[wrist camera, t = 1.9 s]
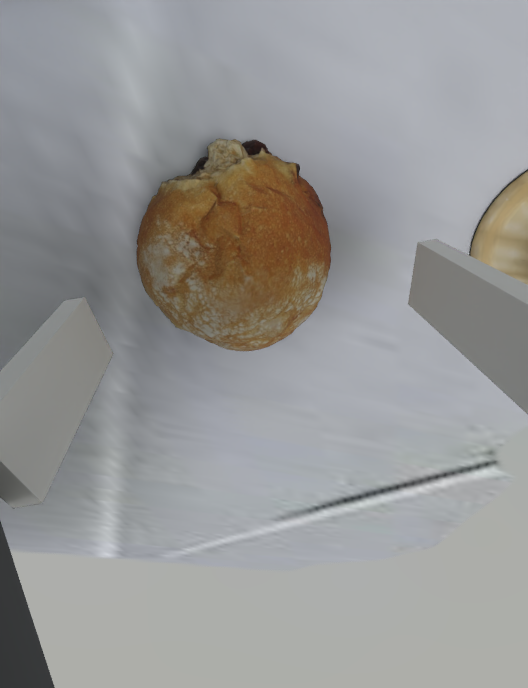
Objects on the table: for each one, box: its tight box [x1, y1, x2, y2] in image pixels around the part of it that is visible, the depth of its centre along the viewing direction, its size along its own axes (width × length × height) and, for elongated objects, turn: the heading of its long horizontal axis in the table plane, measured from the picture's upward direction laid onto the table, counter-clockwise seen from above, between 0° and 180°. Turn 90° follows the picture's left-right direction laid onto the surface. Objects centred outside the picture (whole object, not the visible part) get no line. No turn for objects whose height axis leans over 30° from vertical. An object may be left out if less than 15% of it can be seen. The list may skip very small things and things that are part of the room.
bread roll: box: [137, 139, 331, 351], centre depth 17 cm, size 10×10×8 cm
